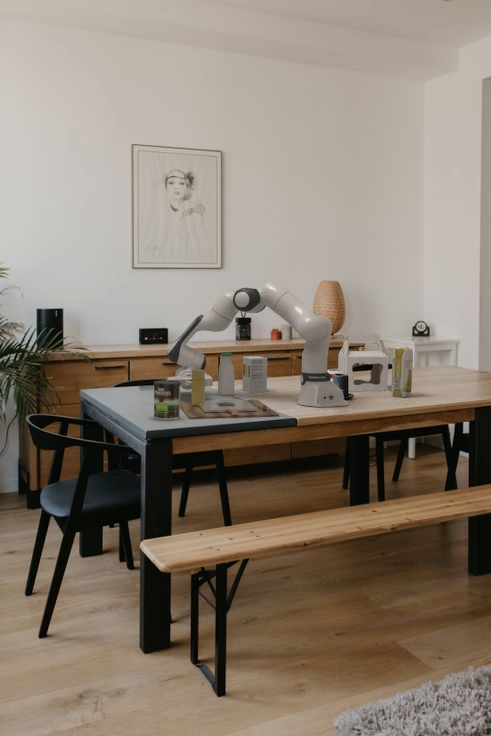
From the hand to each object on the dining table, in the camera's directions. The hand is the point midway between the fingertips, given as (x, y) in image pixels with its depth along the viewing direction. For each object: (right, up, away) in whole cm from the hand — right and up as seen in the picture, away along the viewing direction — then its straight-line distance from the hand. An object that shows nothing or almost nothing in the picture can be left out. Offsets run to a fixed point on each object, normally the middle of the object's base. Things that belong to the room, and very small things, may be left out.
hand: (192, 383), depth 301 cm
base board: (+15, -10, -14) cm, 23 cm away
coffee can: (-7, -13, -33) cm, 36 cm away
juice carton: (+97, -7, +29) cm, 102 cm away
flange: (+15, -10, -17) cm, 25 cm away
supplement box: (+28, -5, +38) cm, 47 cm away
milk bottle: (+14, -6, +26) cm, 30 cm away
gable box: (+82, -4, +50) cm, 96 cm away
